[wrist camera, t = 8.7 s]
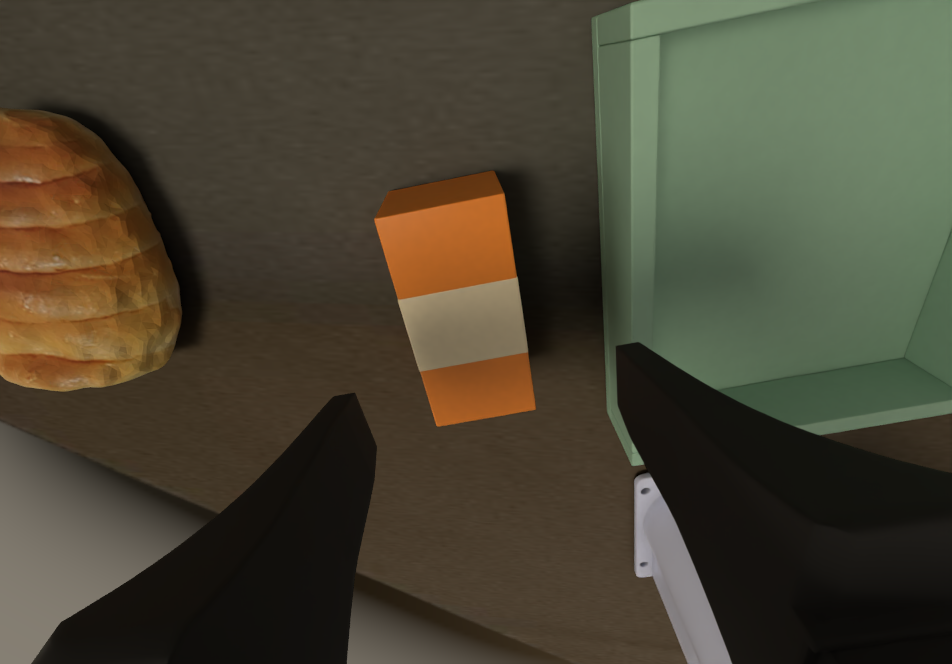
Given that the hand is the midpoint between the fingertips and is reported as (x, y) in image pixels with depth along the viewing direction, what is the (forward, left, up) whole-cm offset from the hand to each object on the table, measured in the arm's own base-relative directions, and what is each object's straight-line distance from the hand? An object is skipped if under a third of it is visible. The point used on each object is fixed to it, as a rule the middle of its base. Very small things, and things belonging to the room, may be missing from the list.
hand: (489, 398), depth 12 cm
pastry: (+4, +15, -8) cm, 17 cm away
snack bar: (0, +1, -7) cm, 7 cm away
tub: (0, -13, -7) cm, 15 cm away
